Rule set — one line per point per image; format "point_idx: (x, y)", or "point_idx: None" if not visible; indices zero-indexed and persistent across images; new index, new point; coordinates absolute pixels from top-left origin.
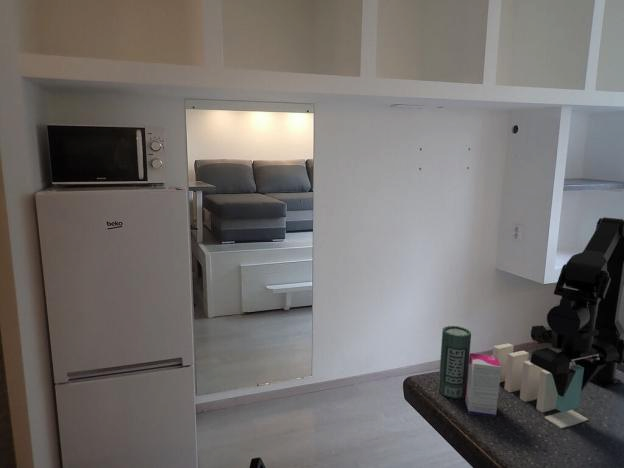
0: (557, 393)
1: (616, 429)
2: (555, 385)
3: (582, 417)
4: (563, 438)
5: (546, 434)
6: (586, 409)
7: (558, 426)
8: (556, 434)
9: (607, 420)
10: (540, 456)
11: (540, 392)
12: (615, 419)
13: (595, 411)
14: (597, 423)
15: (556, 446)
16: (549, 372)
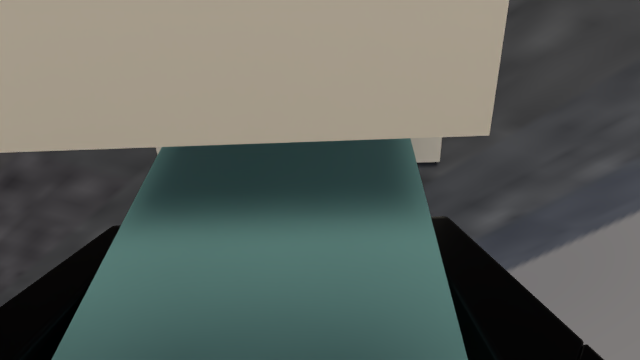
0: (130, 207)
1: (503, 264)
2: (22, 294)
3: (419, 138)
4: (105, 230)
5: (19, 176)
6: (595, 49)
7: (158, 148)
8: (88, 194)
9: (565, 194)
10: None
11: None
12: (628, 202)
13: (625, 93)
14: (463, 196)
15: (12, 262)
16: (52, 127)
